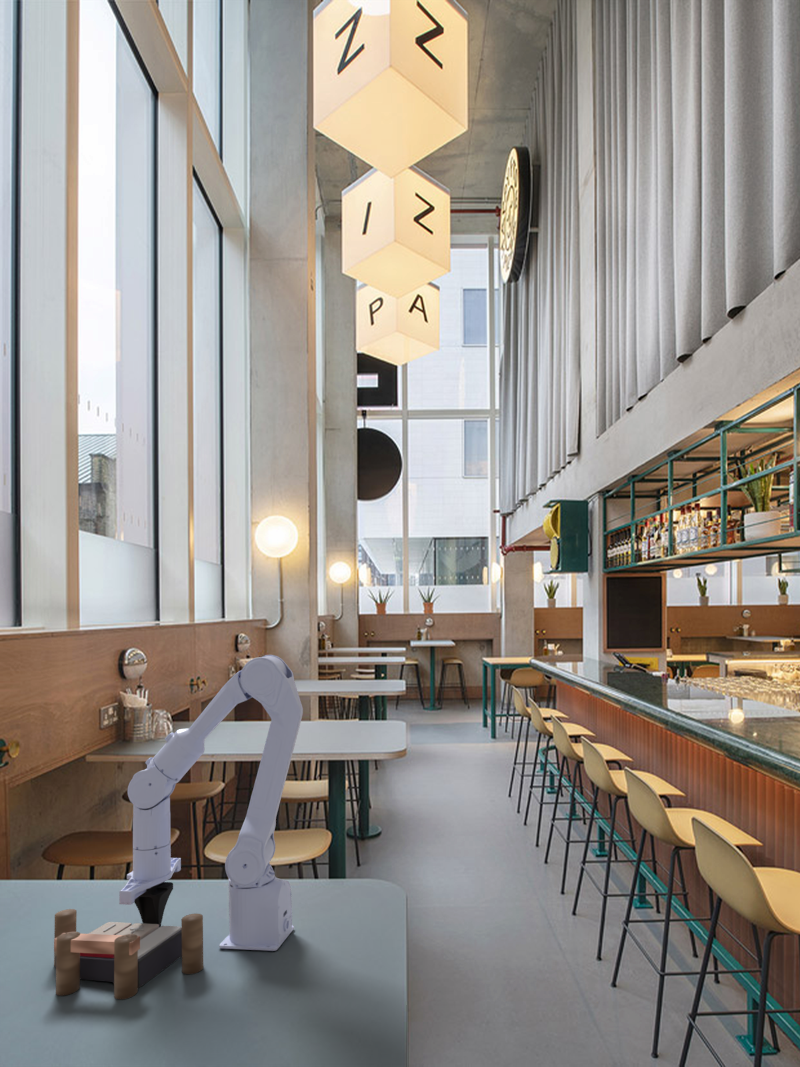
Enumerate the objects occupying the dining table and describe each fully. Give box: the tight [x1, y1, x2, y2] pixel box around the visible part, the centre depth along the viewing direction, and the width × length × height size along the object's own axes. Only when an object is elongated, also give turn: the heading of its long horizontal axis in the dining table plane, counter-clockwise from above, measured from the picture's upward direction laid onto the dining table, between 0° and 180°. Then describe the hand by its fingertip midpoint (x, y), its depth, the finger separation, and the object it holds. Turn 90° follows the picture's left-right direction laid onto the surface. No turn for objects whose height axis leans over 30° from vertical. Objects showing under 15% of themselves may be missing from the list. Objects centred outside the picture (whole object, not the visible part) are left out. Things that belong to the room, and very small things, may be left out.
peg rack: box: [53, 908, 204, 1000], centre depth 99 cm, size 24×10×7 cm, turn 79°
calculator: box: [55, 921, 182, 989], centre depth 103 cm, size 11×4×15 cm
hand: (152, 934), depth 109 cm, fingers closed
